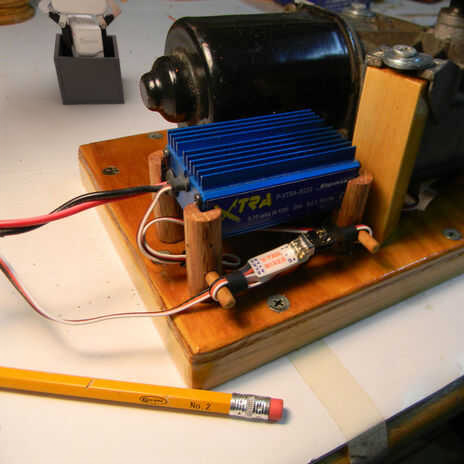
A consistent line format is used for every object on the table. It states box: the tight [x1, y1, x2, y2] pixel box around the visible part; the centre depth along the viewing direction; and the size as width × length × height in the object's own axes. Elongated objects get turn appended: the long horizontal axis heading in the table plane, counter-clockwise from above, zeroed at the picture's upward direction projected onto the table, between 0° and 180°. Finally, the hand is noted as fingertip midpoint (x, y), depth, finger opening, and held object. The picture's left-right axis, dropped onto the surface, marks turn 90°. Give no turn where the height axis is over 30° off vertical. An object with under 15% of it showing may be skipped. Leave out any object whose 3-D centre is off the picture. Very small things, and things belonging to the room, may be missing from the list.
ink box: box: [66, 14, 104, 57], centre depth 100 cm, size 9×5×12 cm, turn 33°
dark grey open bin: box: [53, 32, 125, 105], centre depth 102 cm, size 12×14×10 cm
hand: (86, 45), depth 99 cm, fingers closed on ink box, 5 cm apart
